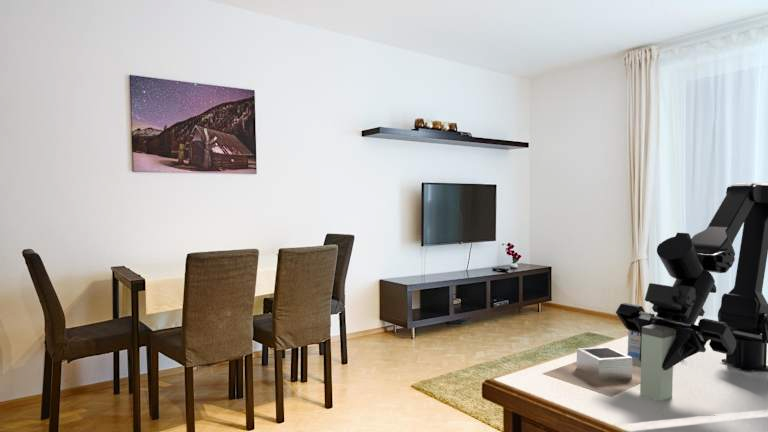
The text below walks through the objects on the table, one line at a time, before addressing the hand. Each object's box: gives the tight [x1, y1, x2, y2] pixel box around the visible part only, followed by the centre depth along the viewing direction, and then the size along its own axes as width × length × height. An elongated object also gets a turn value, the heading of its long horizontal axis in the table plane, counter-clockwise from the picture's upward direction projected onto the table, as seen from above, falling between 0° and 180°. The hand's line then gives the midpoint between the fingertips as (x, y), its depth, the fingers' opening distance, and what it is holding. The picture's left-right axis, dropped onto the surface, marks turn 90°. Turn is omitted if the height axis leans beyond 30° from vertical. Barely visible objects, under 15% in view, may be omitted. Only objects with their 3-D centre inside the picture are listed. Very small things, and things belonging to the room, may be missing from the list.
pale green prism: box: [639, 324, 674, 402], centre depth 87 cm, size 4×4×13 cm
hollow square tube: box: [576, 346, 633, 381], centre depth 98 cm, size 7×7×4 cm
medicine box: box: [627, 329, 641, 358], centre depth 109 cm, size 8×4×9 cm, turn 50°
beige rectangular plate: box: [542, 361, 641, 398], centre depth 98 cm, size 20×14×1 cm
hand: (652, 365), depth 86 cm, fingers closed on pale green prism, 4 cm apart
